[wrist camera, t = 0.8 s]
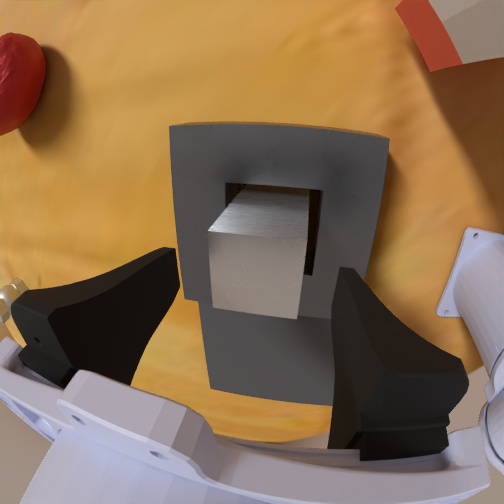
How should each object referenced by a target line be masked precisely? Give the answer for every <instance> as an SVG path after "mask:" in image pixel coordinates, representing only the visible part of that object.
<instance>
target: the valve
mask: <svg viewBox="0 0 504 504" xmlns="http://www.w3.org/2000/svg"><path fill="white" fill-rule="evenodd" d="M26 290H29V289H28V288H27V286H26V285H25V283H24V282H23V280H21V279H18V278H15V279H14V280H13V281H12V282H10V285H6V286H4V287H3V288H1V290H0V322H1V323H5V322H6V321H7V320H8V319H9V318H10V315H12V314H11V304H12V303H13V302H14V301H15V300H16V299H17V298H18V297H19V296H20V295H21V294H22V293H23V292H25V291H26ZM14 323H15V322H14Z"/></svg>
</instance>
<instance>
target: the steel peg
mask: <svg viewBox="0 0 504 504" xmlns="http://www.w3.org/2000/svg"><path fill="white" fill-rule="evenodd" d="M309 191H310V189H306V188H295V187H284V186H272V185H259V184H246V185H245V187H244V188H243V189H242V190H241V191H240V192H239V194H238V195H237V196H236V197H235V198H234V200H233V201H232V202H231V203H230V204H229V206H228V207H227V208H226V209H225V210H224V212H223V213H222V214H221V215H220V216H219V218H218V219H217V220H216V221H215V223H214V224H213V225H212V226H211V227H210V229H209V230H208V246H209V262H210V276H211V290H212V302H213V308H219V309H225V310H232V311H238V312H245V313H252V314H259V315H267V316H274V317H282V318H290V319H297V314H298V308H299V301H300V294H301V286H302V279H303V271H304V264H305V255H306V247H307V236H308V216H309Z"/></svg>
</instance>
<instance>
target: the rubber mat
mask: <svg viewBox="0 0 504 504" xmlns="http://www.w3.org/2000/svg"><path fill="white" fill-rule="evenodd" d="M198 302H199V301H198ZM199 311H200V319H201V327H202V334H203V342H204V349H205V356H206V362H207V369H208V375H209V382H210V388H211V389H214V390H219V391H224V392H229V393H234V394H240V395H245V396H251V397H257V398H264V399H271V400H278V401H286V402H294V403H304V404H314V405H328V406H333V397H334V380H335V367H334V354H333V343H332V332H331V319H327V318H317V317H308V316H299V315H297V319H290V318H282V317H274V316H267V315H259V314H252V313H245V312H238V311H232V310H225V309H219V308H213V304H212V303H205V302H199Z"/></svg>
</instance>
